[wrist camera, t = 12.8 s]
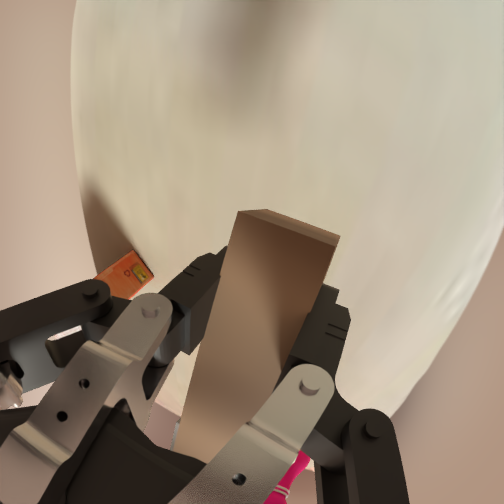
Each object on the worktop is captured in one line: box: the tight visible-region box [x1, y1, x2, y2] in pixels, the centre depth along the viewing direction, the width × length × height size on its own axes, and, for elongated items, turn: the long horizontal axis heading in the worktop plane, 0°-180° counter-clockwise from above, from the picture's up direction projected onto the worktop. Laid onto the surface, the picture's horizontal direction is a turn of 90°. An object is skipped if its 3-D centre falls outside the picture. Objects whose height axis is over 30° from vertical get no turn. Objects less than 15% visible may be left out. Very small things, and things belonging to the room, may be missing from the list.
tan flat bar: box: [170, 209, 340, 464], centre depth 12 cm, size 18×5×3 cm, turn 170°
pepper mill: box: [263, 450, 310, 504], centre depth 45 cm, size 7×7×20 cm
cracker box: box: [54, 250, 154, 339], centre depth 46 cm, size 14×6×21 cm
